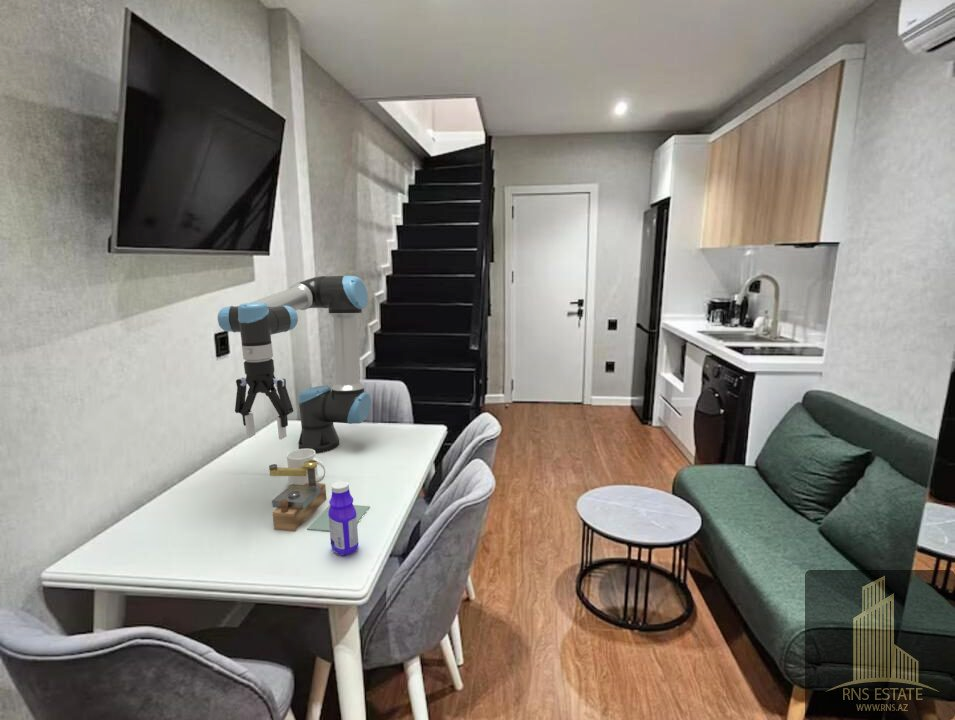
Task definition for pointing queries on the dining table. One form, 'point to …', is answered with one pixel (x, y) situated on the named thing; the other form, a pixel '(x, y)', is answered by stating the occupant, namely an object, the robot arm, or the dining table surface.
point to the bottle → (342, 520)
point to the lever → (292, 469)
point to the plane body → (296, 517)
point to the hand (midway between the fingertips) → (267, 437)
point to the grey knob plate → (297, 496)
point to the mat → (323, 519)
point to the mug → (298, 459)
